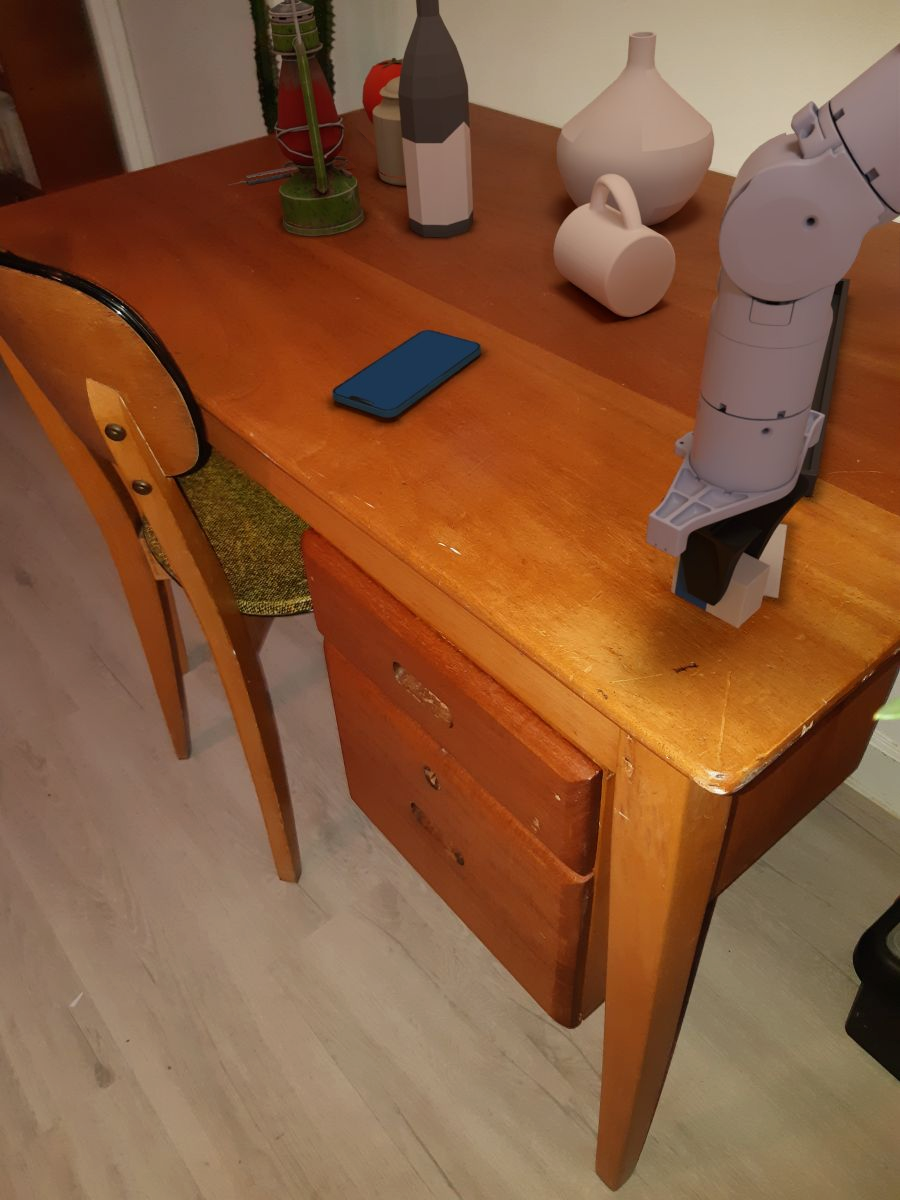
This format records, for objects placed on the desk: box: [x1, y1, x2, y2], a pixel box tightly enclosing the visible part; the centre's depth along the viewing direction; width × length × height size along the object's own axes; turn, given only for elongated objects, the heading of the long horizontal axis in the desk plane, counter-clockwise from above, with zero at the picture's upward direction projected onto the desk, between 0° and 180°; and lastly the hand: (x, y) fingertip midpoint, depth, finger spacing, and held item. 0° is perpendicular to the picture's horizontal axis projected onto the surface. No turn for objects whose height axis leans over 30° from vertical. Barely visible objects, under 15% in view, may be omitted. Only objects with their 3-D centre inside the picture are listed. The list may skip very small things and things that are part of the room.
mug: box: [552, 174, 676, 318], centre depth 89 cm, size 8×10×12 cm
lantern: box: [268, 0, 365, 237], centre depth 104 cm, size 14×11×30 cm
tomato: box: [361, 57, 403, 125], centre depth 138 cm, size 11×13×10 cm
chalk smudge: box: [759, 523, 788, 599], centre depth 62 cm, size 8×4×1 cm, turn 161°
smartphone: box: [331, 329, 482, 419], centre depth 83 cm, size 7×1×15 cm
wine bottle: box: [398, 0, 474, 239], centre depth 100 cm, size 8×8×30 cm
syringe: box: [229, 158, 349, 187], centre depth 126 cm, size 8×18×2 cm, turn 115°
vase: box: [556, 31, 715, 227], centre depth 103 cm, size 18×18×19 cm
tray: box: [800, 277, 851, 498], centre depth 78 cm, size 35×5×2 cm, turn 158°
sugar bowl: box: [372, 56, 407, 187], centre depth 121 cm, size 15×11×15 cm
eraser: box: [670, 553, 770, 629], centre depth 55 cm, size 5×3×4 cm, turn 44°
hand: (718, 583), depth 55 cm, fingers closed on eraser, 3 cm apart
